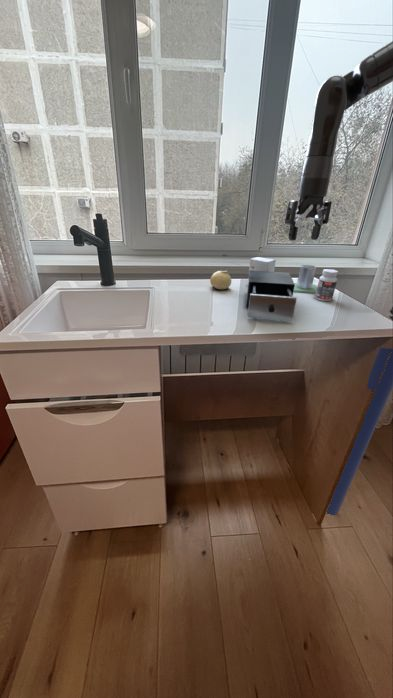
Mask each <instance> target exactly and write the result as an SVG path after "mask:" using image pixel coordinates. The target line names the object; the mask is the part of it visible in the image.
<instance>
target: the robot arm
mask: <svg viewBox="0 0 393 698" xmlns="http://www.w3.org/2000/svg"><path fill="white" fill-rule="evenodd" d="M392 82H393V40H392V41H390V42H389V43H387V44H385V45H384V46H382V47H381V48H379V49H377V50H376V51H374V52H373V53H371V54H370V55H368V56H367V57H365V58H364V59H362V60H361V62H359V63H358V64H357V66H356V67H355V68H353V69H352V70H351V71H350V72H348V73H346V74H345V75H343V76H342V75H333V76H330V77H328V78H327V79H326V80H325V81H324V82H323V83H322V84H321V85H320V87H319V89H318V91H317V93H316V98H315V102H314V112H313V118H312V119H313V120H312V127H311V132H310V135H309V138H308V142H307V147H306V153H305V158H304V159H305V160H304V162H303V166H302V171H301V176H300V182H299V187H298V194H297V195H298V196H299V198H298V199H297V200H292V199H291V200H289V201H288V204H287V210H286V214H285V218H284V223H285V225H289V231H288V240H289V241H296V240H297V235H298V229H299V225H300V224H301V222H302V221H304V220H305V219H309V218H310V219H311V220H312V222H313V226H312V230H311V235H310V239H311V240H315V241H317V240H318V239H319V237H320V234H321V229H322V227H323V226H324V225H326V224H328V223H329V220H330V214H331V209H332V201H330V200H324V198H325V197H327V195H328V190H329V185H330V181H331V176H332V171H333V166H334V157H335V153H336V147H337V145H338V136H339V130H340V127H341V124H342V121H343V118H344V113H345V111H346V110H348V109H349V108H351V107H352V106H354V105H355V104H357V103H358V102H359V101H361V100H363V99H364V98H366V97H367V96H369V95H371V94H373V93H375V92H377V91H379V90H381V89H382V88H385V86H388V85H389V84H392ZM388 313H390V314H391V315H388V318H389V319H391V321H393V305H392V306H391V308H390V310H389V312H388Z"/></svg>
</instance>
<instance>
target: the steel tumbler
mask: <svg viewBox="0 0 393 698" xmlns="http://www.w3.org/2000/svg"><path fill="white" fill-rule="evenodd" d="M316 271H317V266H315V265H312V264H301V265H300V267H299V272H298V276H297V281H296V283H297V288H300V289H311V288H312V284H313V283H314V280H315V274H316ZM313 285H314V284H313Z"/></svg>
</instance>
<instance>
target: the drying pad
mask: <svg viewBox="0 0 393 698" xmlns="http://www.w3.org/2000/svg"><path fill="white" fill-rule="evenodd" d="M294 284H295V286H294V291H293V293H305V294H316V291H317V285H316V284H312V288H311V289H300V288H297V282H294Z"/></svg>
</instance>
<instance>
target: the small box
mask: <svg viewBox="0 0 393 698" xmlns="http://www.w3.org/2000/svg"><path fill="white" fill-rule="evenodd" d="M275 267H276V259H273V258H266V257H262V256H256V257H252V258H250V259H249V268H248V271H249V270H253V271H269V272H275V269H276V268H275ZM248 279H249V277H248ZM248 279H247V280H248Z"/></svg>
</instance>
